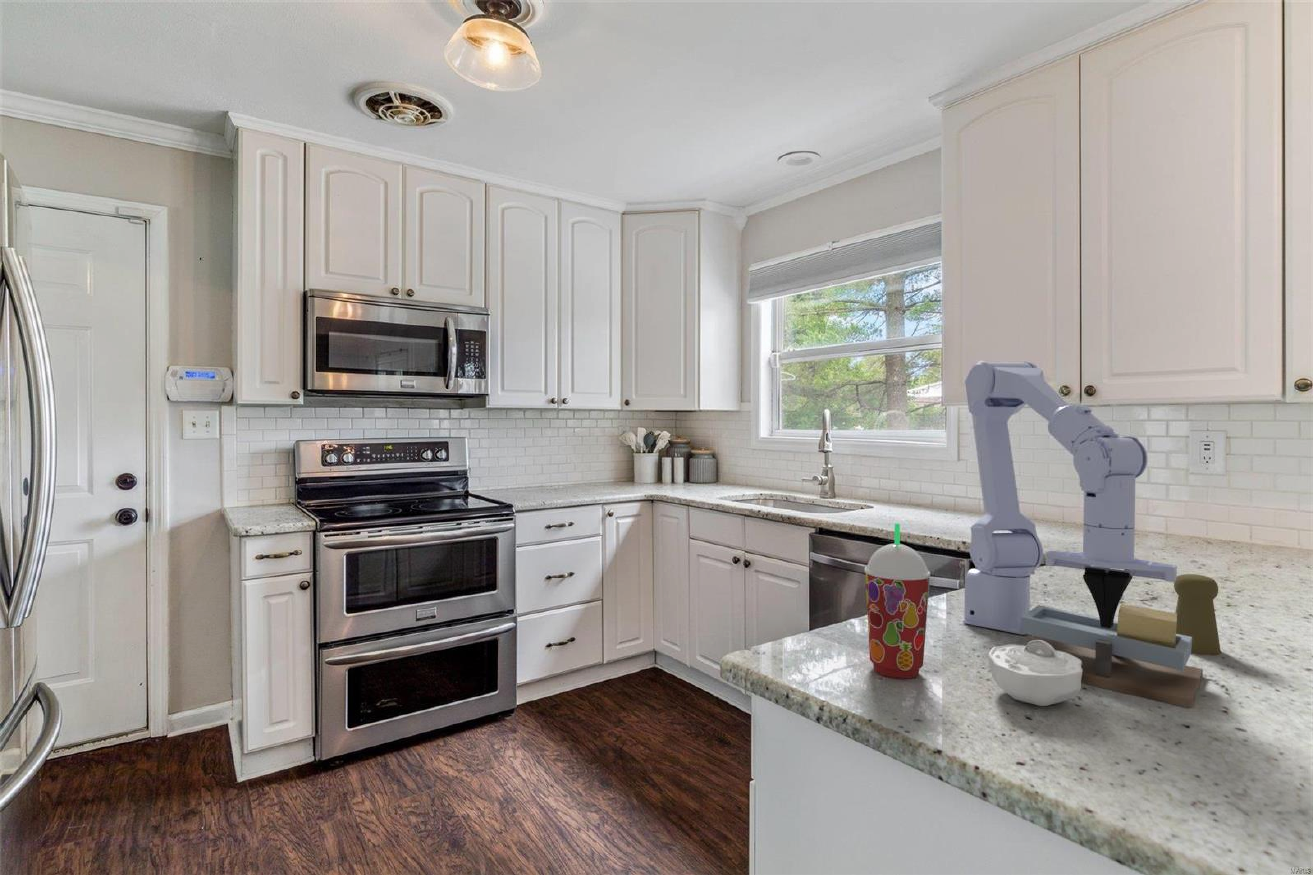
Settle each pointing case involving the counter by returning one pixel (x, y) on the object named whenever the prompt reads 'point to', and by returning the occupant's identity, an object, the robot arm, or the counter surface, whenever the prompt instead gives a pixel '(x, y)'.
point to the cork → (1197, 612)
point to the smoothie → (897, 609)
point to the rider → (1147, 625)
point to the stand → (1132, 674)
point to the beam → (1102, 636)
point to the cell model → (1036, 672)
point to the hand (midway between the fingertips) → (1107, 626)
